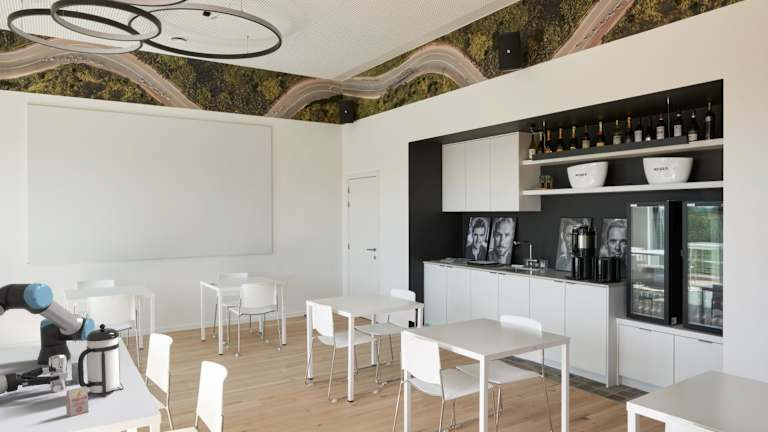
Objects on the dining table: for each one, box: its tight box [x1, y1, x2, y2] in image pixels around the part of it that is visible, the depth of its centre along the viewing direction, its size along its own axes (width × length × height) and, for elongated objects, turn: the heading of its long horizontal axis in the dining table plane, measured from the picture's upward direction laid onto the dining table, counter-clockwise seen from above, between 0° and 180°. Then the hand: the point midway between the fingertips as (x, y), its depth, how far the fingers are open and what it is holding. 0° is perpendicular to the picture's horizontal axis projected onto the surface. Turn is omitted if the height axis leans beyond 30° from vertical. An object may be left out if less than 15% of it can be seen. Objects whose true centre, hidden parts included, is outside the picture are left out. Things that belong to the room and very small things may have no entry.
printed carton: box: [65, 386, 90, 418], centre depth 205 cm, size 4×7×10 cm, turn 134°
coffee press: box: [77, 323, 124, 398], centre depth 227 cm, size 17×16×30 cm
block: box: [71, 362, 80, 385], centre depth 243 cm, size 2×9×8 cm, turn 45°
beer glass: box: [48, 355, 68, 393], centre depth 232 cm, size 7×7×15 cm
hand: (63, 371), depth 234 cm, fingers open, 13 cm apart
